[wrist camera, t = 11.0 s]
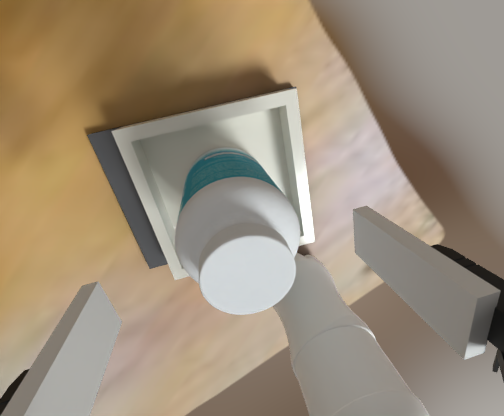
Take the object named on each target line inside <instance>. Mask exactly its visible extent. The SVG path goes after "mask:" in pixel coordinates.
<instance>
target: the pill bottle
mask: <svg viewBox="0 0 504 416" xmlns="http://www.w3.org/2000/svg"><path fill="white" fill-rule="evenodd" d="M299 242H300V225H299V220H298V217H297V214H296V212H295V210H294V208H293V206H292V205H291V203H290V202H289V200H288V199H287V198H286V196H285V195H284V194H283V193H282V191H281V190H280V189H279V188H278V186H277V185H276V184H275V183H274V181H273V180H272V179H271V178H270V176H269V175H268V174H267V173H266V171H265V170H264V169H263V167H262V166H261V165H260V164H259V162H258V161H257V160H256V159H255V158H254V157H253V156H251V155H250V154H248V153H247V152H245V151H242V150H240V149H236V148H230V147H222V148H216V149H213V150H210V151H208V152H206V153H204V154H203V155H201V156H200V157H199V158H197V159H196V161H195V162H194V163H193V164H192V166H191V167H190V169H189V171H188V173H187V176H186V180H185V184H184V189H183V195H182V200H181V205H180V211H179V216H178V220H177V226H176V231H175V247H176V252H177V256H178V259H179V261H180V263H181V265H182V266H183V268H184V269H185V271H186V272H187V273H188V274H189V275H190V276H191V277H192V278H193V279H194V280H195V281H196V282H198V283H199V286H200V289H201V292H202V294H203V296H204V298H205V299H206V300H207V301H208V302H209V303H210V304H211V305H212V306H213V307H215V308H217V309H218V310H221V311H223V312H226V313H230V314H237V315H245V314H252V313H257V312H260V311H263V310H266V309H268V308H270V307H272V306H273V305H275V304H276V303H278V302H279V301H280V300H281V299H282V298H283V297H284V296H285V295H286V294H287V293H288V291H289V290H290V288H291V287H292V285H293V282H294V279H295V275H296V263H295V259H294V258H295V255H296V253H297V250H298V247H299Z"/></svg>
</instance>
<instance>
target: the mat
mask: <svg viewBox="0 0 504 416" xmlns="http://www.w3.org/2000/svg"><path fill="white" fill-rule="evenodd" d="M295 88H296V87H291V88H287V89H295ZM283 90H284V89H283ZM278 91H280V90H278ZM274 92H276V91H274ZM270 93H271V92H270ZM265 94H267V93H265ZM261 95H263V94H261ZM257 96H258V95H257ZM252 97H254V96H252ZM248 98H250V97H248ZM244 99H245V98H244ZM239 100H241V99H239ZM235 101H237V100H235ZM231 102H232V101H231ZM226 103H228V102H226ZM222 104H224V103H222ZM218 105H219V104H218ZM213 106H215V105H213ZM209 107H211V106H209ZM205 108H206V107H205ZM200 109H202V108H200ZM196 110H198V109H196ZM192 111H193V110H192ZM187 112H189V111H187ZM183 113H185V112H183ZM179 114H180V113H179ZM174 115H176V114H174ZM170 116H172V115H170ZM166 117H167V116H166ZM161 118H163V117H161ZM157 119H159V118H157ZM153 120H154V119H153ZM148 121H150V120H148ZM144 122H146V121H144ZM140 123H141V122H140ZM135 124H137V123H135ZM131 125H133V124H131ZM127 126H128V125H127ZM122 127H124V126H122ZM119 128H121V127H118V128H114V129H109V130H105V131H101V132H96V133H92V134H89V135H87V136H88V138H89V140H90V142H91V144H92V146H93V149H94V151H95V153H96V155H97V157H98V159H99V161H100V163H101V166H102V168H103V170H104V172H105V174H106V176H107V178H108V180H109V183H110V185H111V187H112V189H113V191H114V193H115V195H116V198H117V200H118V202H119V204H120V206H121V208H122V210H123V212H124V215H125V217H126V219H127V221H128V223H129V225H130V227H131V229H132V232H133V234H134V236H135V238H136V240H137V242H138V244H139V247H140V249H141V251H142V253H143V255H144V257H145V259H146V261H147V264H148V266H149V268H150V269H151V268H155V267H158V266H162V265H166V264H168V263H167V260H166V258H165V255H164V253H163V251H162V248H161V246H160V244H159V241H158V239H157V237H156V234H155V232H154V230H153V227H152V225H151V223H150V220H149V218H148V216H147V213H146V211H145V209H144V206H143V204H142V202H141V199H140V197H139V195H138V192H137V190H136V188H135V185H134V183H133V181H132V178H131V176H130V174H129V171H128V169H127V167H126V164H125V162H124V160H123V157H122V155H121V152H120V150H119V148H118V145H117V143H116V141H115V138H114V136H113V134H112V131H113V130H116V129H119Z"/></svg>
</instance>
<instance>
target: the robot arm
mask: <svg viewBox="0 0 504 416" xmlns="http://www.w3.org/2000/svg"><path fill="white" fill-rule="evenodd" d="M353 220H354V242H355V253H356V254H357V255H358V256H359V257H360V258H361V259H362V260H363V261H364V262H365V263H366V264H367V265H368V266H369V267H370V268H371V269H372V270H373V271H374V272H375V273H376V274H377V275H378V276H379V277H380V278H381V279H382V280H383V281H384V282H385V283H387V285H389V286H390V287H391V288H392V289H393V290H394V291H395V292H396V293H397V294H398V295H399V296H400V297H401V298H402V299H403V300H404V301H405V302H406V303H407V304H408V305H409V306H410V307H411V308H412V309H413V310H414V311H415V312H416V313H417V314H418V315H419V316H420V317H421V318H422V319H423V320H424V321H425V322H427V324H428V325H429V326H430V327H431V328H432V329H433V330H434V331H435V332H436V333H437V334H438V335H439V336H440V337H442V339H444V340H445V341H446V342H447V343H448V344H449V345H450V346H451V347H452V348H453V349H454V350H455V351H456V352H457V353H458V354H459V355H460V356H461V357H462V358H463V359H464V360H465V359H467V358H470V357H473V356H476V355H479V354H482V353H484V352H485V348H486V345H487V340H489V342H491V343H492V344H493V345H494V346H495V347H497V348H498V350H497V353H496V357H495V360H494V364H493V371H494V372H497V371H498V368H499V366H500V370H501V373H502V377H503V381H504V280H503V279H502V278H500V277H498V276H497V275H495V274H493V273H491V272H490V271H488V270H486V269H485V268H483V267H481V266H480V265H476V263H475V262H473V261H471V260H469V259H468V258H467V259H466V258H465V257H464V256H463V255H461V254H459V253H458V252H456V251H454V250H453V249H450V248H447V247H444V246H441V245H438V244H436V245H433V246H429V245H428V244H426V243H425V242H423V241H421V240H420V239H418V238H417V237H415V236H413V235H412V234H410V233H409V232H407V231H406V230H404V229H402V228H401V227H399V226H398V225H396V224H395V223H393V222H391V221H390V220H388V219H387V218H385V217H384V216H382V215H380V214H379V213H377V212H376V211H374V210H373V209H371V208H369V207H368V206H364V207H360V208H357V209H353ZM121 324H122V321H121V319H120V318H119V316H118V314H117V312H116V311H115V309H114V307H113V306H112V304H111V302H110V300H109V299H108V297H107V295H106V294H105V292H104V290H103V289H102V287H101V285H100V283H99V282H94V283H91V284H87V285H84V286H82V287H81V288H80V290H79V291H78V293H77V295H76V296H75V298H74V299H73V301H72V303H71V304H70V306H69V307H68V309H67V311H66V312H65V314H64V315H63V317H62V318H61V320H60V322H59V323H58V325H57V326H56V328H55V330H54V331H53V333H52V334H51V336H50V338H49V339H48V341H47V342H46V344H45V346H44V347H43V349H42V350H41V352H40V354H39V355H38V357H37V358H36V360H35V362H34V363H33V365H32V366H31V368H30V369H28V370H25V371H23V372H22V373H21V374H20V376H19V377H18V378H17V379H16V380H15V381H14V382H13V383H12V384H11V385H10V386H9V387H8V389H7V390H6V392H5V393H4V395H3V396H2V398H1V399H0V416H90V413H91V410H92V407H93V405H94V402H95V399H96V396H97V393H98V390H99V387H100V384H101V381H102V379H103V376H104V373H105V370H106V367H107V364H108V361H109V358H110V355H111V353H112V350H113V347H114V344H115V341H116V338H117V335H118V332H119V329H120V326H121Z"/></svg>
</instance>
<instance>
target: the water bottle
mask: <svg viewBox="0 0 504 416" xmlns="http://www.w3.org/2000/svg"><path fill="white" fill-rule="evenodd" d="M294 259H295V263H296V275H295V279H294V282H293V285H292V287H291V288H290V290H289V291H288V293H287V294H286V295H285V296H284V297H283V298H282V299H281V300H280V301H279V302H278V303H276V304H275V305H273V308H274V309H275V311H276V312H277V314H278V315H279V317H280V319H281V321H282V323H283V325H284V328H285V331H286V334H287V338H288V342H289V347H290V354H291V365H292V369H293V371H294V374H295V376H296V377H297V379H298V382H299V384H300V388H301V391H302V394H303V397H304V400H305V402H306V406H307V409H308V412H309V415H310V416H429V414H428V412H427V410H426V409H425V407H424V406H423V404H422V402H421V401H420V399H419V398H418V397H417V396H416V395H414V394H413V393H412V391H411V390H410V388H409V387H408V386H407V384H406V383H405V381H404V380H403V378H402V377H401V376H400V374H399V373H398V372H397V370H396V368H395V367H394V366H393V364H392V363H391V361H390V360H389V358H388V357H387V356H386V354H385V353H384V351H383V350H382V348H381V347H380V346H379V344H378V343H377V341H376V339H375V336H374V334H373V333H372V331H371V330H370V329H369V328H368V326H367V324H366V323H365V322H364V321H363V320H362V319H361V318H359V317H358V316H357V315H356V314H355V313H354V312H353V311H352V310H351V309H350V308H349V307H348V306H347V305H346V303H345V302H344V301H343V299H342V298H341V296H340V294H339V292H338V290H337V288H336V286H335V282H334V280H333V277H332V275H331V274H330V272H329V271H328V270H327V268H326V267H325V266H324V265H323V264H322V263H321V262H320V261H319V260H318V259H317V258H315V257H314V256H312V255H305V256H303V255H301V254H299V253H296V255H295V258H294Z"/></svg>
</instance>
